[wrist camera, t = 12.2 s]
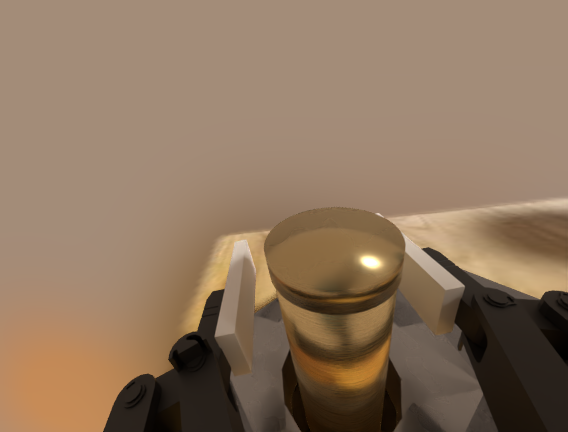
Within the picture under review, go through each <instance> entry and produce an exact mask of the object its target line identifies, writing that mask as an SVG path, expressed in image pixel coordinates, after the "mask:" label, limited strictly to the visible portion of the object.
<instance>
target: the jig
mask: <svg viewBox="0 0 568 432" xmlns="http://www.w3.org/2000/svg"><path fill="white" fill-rule="evenodd" d="M463 271H464V272H466V273H467V274H468V275H469V276H471V277H472V278H473V279H475V280H476V281H477V282H478V283H480V284H481V285H482V286H484V287H489V288H495V289H498V290H501V291H504V292H506V293H508V294H509V295H511V296H513V297H514V298H516V299H531V300H540V299H537V298H535V297H532V296H529V295H527V294H524V293H522V292H519V291H517V290H514V289H511V288H509V287H506V286H504V285H501V284H498V283H496V282H493V281H491V280H488V279H486V278H483V277H480V276H478V275H475V274H473V273H470V272H467V271H465V270H463ZM461 332H462V330H461V329H460V328H459V327H458V326H457V325H456V324H454V327H453V331H452V332H450V333H446V334H441V335H436V336H435V335H434V334H433V332H432V331H431V330H430V329H429V327H428V326H427V325H426V323H425V322H424V321H423V320H422V318H421V317H420V316H419V314H418V313H417V312H416V311H415V309H414V308H413V307H412V306H411V304H410V303H409V302H408V300H407V299H406V298H405V297H404V295H403V294H402V293H401V291H400V290H399V289H397V294H396V302H395V311H394V319H393V327H392V336H391V344H390V352H389V361H388V369H387V377H386V386H385V388H386V390H387V392H388V394H389V397H390V399H391V401H392V403H393V405H394V408H395V410H396V412H397V427H396V428H395V430H394V431H393V432H498V430H497V427H496V425H495V422H494V420H493V417H492V415H491V412H490V410H489V407H488V405H487V402H486V400H485V397H484V395H483V392H482V390H481V387H480V385H479V382H478V380H477V377H476V375H475V372H474V370H473V367H472V365H471V362H470V360H469V357H468V355H467V352H466V350H465V347H464V345H463V347H462V350H461V351H458V347H457V345H458V341H459V338H460V335H461ZM230 383H231V385H232V388H233V391H234V395H235V398H236V402H237V405H238V409H239V412H240V416H241V419H242V423H243V426H244V430H245V432H301V431H300V429H299V428H298V426H297V424H296V422H295V421H294V419H293V410H292V400H291V399H292V396H293V393H294V390H295V387H296V384H297V377H296V373H295V368H294V364H293V360H292V356H291V351H290V347H289V343H288V339H287V334H286V330H285V326H284V322H283V317H282V313H281V309H280V305H279V300H278V298H276V299H275V300H273V301H272V302H271V303H269V304H268V305H266V306H265V307H263V308H262V309H260V310H259V311H257V312H256V313H255V314H254V333H253V358H252V373H249V374H245V375H240V376H234V374H233V372H232V370H231V376H230Z"/></svg>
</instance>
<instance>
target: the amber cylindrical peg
mask: <svg viewBox="0 0 568 432" xmlns="http://www.w3.org/2000/svg"><path fill="white" fill-rule="evenodd" d="M405 247H406V244H405V239H404V237H403V235H402V233H401V231H400V230H399V229H398V228H397V227H396V226H395V225H394V224H393V223H391V222H390V221H389V220H387V219H385V218H383V217H381V216H379V215H377V214H374V213H371V212H367V211H364V210H359V209H353V208H343V207H342V208H341V207H331V208H321V209H314V210H309V211H305V212H302V213H299V214H296V215H294V216H291V217H289V218H287V219H285V220H284V221H282V222H280V223H279V224H278V225H276V226H275V227H274V228H273V229H272V230H271V232H270V233H269V234H268V236H267V238H266V240H265V244H264V252H265V257H266V261H267V265H268V269H269V273H270V277H271V280H272V283H273V285H274V287H275V288H276V292H277V296H278V300H279V305H280V309H281V313H282V317H283V322H284V326H285V330H286V334H287V339H288V343H289V347H290V351H291V356H292V360H293V364H294V368H295V373H296V377H297V381H298V385H299V390H300V394H301V398H302V402H303V407H304V411H305V415H306V419H307V423H308V426H309V428H310V431H311V432H380V427H381V419H382V411H383V402H384V394H385V386H386V377H387V369H388V361H389V352H390V344H391V336H392V327H393V319H394V311H395V302H396V294H397V289H398V287H399V285H400V282H401V279H402V272H403V264H404V257H405Z"/></svg>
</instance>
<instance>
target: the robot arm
mask: <svg viewBox="0 0 568 432" xmlns="http://www.w3.org/2000/svg"><path fill="white" fill-rule="evenodd" d="M376 214H377V215H379V216H381V217H383V216H382V215H380V214H379V213H376ZM383 218H384V217H383ZM401 233H402V232H401ZM402 235H403V237H404V239H405V244H406V247H405V257H404V264H403V272H402V279H401V282H400V285H399V287H398V289H399V290H400V291H401V293H402V294H403V295H404V297H405V298H406V299H407V300H408V302H409V303H410V304H411V306H412V307H413V308H414V309H415V311H416V312H417V313H418V314H419V316H420V317H421V318H422V320H423V321H424V322H425V323H426V325H427V326H428V327H429V329H430V330H431V331H432V332H433V334H434V335H435V336H436V335H441V334H446V333H450V332H452V331H453V327H454V324H456V325H457V326H458V327H459V328H460V329H461V330H462V332H461V335H460V338H459V341H458V345H457V347H458V351H461V350H462V347H463V345H464V347H465V350H466V352H467V355H468V357H469V360H470V362H471V365H472V367H473V370H474V372H475V375H476V377H477V380H478V382H479V385H480V387H481V390H482V392H483V395H484V397H485V400H486V402H487V405H488V407H489V410H490V412H491V415H492V417H493V420H494V422H495V425H496V427H497V430H498V432H568V293H567V292H563V291H548V292H545V293H544V295H543V296H542V298H541V300H531V299H516V298H514V297H513V296H511V295H509V294H508V293H506V292H504V291H501V290H498V289H495V288H489V287H484V286H482V285H481V284H480V283H478V282H477V281H476V280H475V279H473V278H472V277H471V276H469V275H468V274H467V273H466V272H464V271H463V270H462V269H460V268H459V267H458V266H455V264H454V263H453V262H451V261H450V260H448V258H446V257H445V256H444V255H442V254H441V253H440V252H438V251H436V250H433V249H431V248H429V247H428V248H423V249H421V248H419V247H418V246H417V245H416V244H415V243H414V242H412V241H411V240H410V239H409V238H408V237H406V236H405V235H404V234H403V233H402ZM255 284H256V269H255V266H254V263H253V260H252V256H251V253H250V250H249V246H248V243H247V240H241V241H236V242H235V244H234V249H233V253H232V258H231V263H230V267H229V272H228V277H227V281H226V286H225V289H222V290H217V291H213V292H212V293H211V295H210V296H209V297H208V299H207V301H206V304H205V307H204V311H203V314H202V318H201V320H200V324H199V327H198V330H197V332H191V333H188V334H186V335H184V336H183V337H182V338H180V339H179V340H178V341H177V342H176V343H175V344H174V346H173V347H172V349H171V351H170V354H169V359H168V360H169V361H170V363H171V364H172V365H173V367H174V369H172V370H170V371H168V372H167V373H165V374H163V375H161V376H159V377H157V378H154V377H153V375H150V374H143V375H140V376H138V377H136V378H135V379H133V380H132V381H131V382H129V383H128V384H127V385H126V386H125V387H124V388H123V390H122V391H121V392H120V393H119V395H118V397H117V399H116V401H115V402H114V405H113V407H112V410H111V413H110V415H109V418H108V420H107V423H106V426H105V428H104V431H103V432H245V430H244V426H243V423H242V419H241V416H240V412H239V409H238V405H237V402H236V398H235V395H234V391H233V388H232V385H231V383H230V376H231V370H232V372H233V374H234V376H240V375H245V374H249V373H252V358H253V333H254V309H255Z"/></svg>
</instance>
